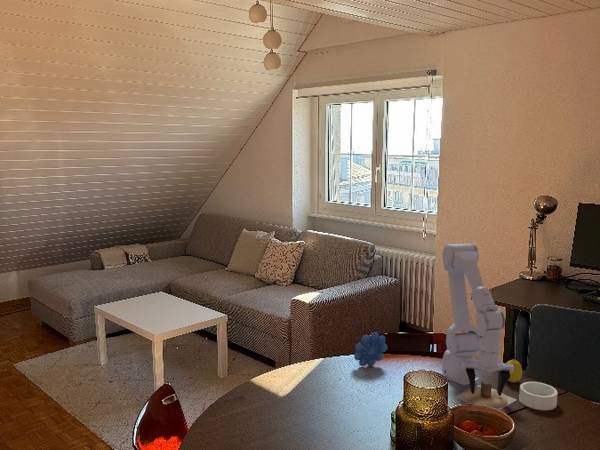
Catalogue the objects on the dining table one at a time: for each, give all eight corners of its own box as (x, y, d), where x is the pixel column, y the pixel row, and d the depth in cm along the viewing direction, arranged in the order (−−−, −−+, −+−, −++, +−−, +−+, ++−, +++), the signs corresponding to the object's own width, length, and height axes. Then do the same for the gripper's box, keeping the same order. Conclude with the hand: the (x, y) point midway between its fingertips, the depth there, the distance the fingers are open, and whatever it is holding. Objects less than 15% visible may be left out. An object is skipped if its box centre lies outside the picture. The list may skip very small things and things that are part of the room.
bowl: (512, 402, 168) (513, 388, 168) (529, 392, 175) (530, 378, 174) (545, 415, 161) (546, 400, 160) (562, 404, 167) (563, 390, 166)
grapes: (382, 360, 199) (383, 327, 197) (389, 367, 192) (390, 334, 191) (350, 362, 197) (351, 329, 195) (356, 370, 190) (356, 336, 188)
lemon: (522, 387, 178) (524, 363, 177) (504, 386, 179) (505, 362, 178) (519, 380, 183) (521, 356, 182) (501, 378, 184) (503, 355, 183)
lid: (456, 397, 170) (457, 382, 169) (478, 385, 178) (479, 371, 177) (492, 412, 161) (493, 396, 160) (514, 399, 169) (515, 384, 168)
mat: (453, 398, 170) (454, 397, 170) (478, 386, 179) (478, 384, 178) (493, 415, 161) (493, 413, 160) (517, 401, 169) (517, 399, 169)
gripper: (465, 353, 164) (462, 397, 166) (517, 356, 162) (514, 401, 164) (461, 344, 171) (459, 387, 173) (511, 347, 169) (508, 390, 171)
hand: (485, 393), depth 169 cm, fingers open, 7 cm apart
